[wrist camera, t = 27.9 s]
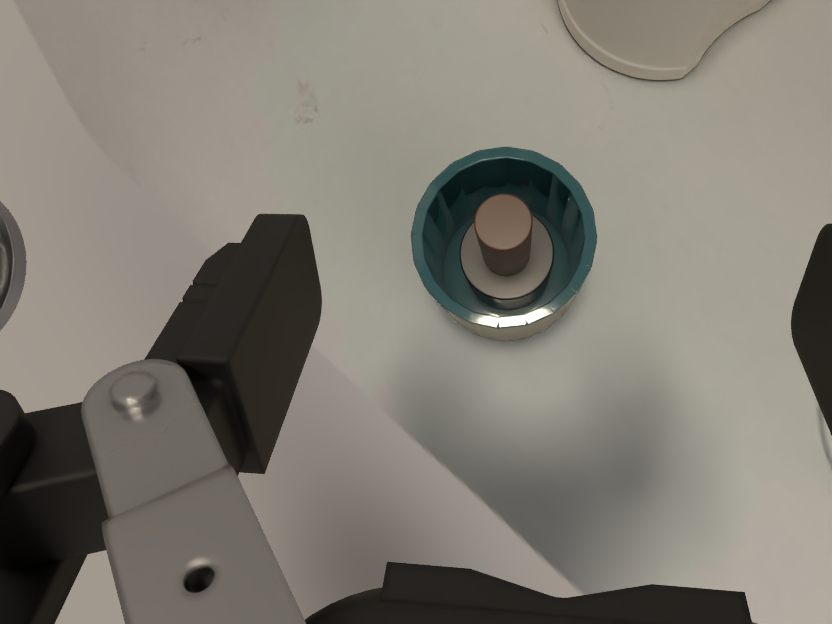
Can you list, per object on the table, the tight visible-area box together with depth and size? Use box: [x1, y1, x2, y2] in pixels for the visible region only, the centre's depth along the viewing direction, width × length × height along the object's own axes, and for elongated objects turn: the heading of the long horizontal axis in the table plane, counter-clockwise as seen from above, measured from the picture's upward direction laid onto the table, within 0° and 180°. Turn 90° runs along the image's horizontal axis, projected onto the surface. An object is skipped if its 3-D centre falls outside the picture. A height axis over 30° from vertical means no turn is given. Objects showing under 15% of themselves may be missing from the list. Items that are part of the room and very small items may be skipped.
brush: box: [459, 194, 554, 310], centre depth 32 cm, size 4×4×11 cm
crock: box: [411, 147, 597, 341], centre depth 34 cm, size 8×8×9 cm
